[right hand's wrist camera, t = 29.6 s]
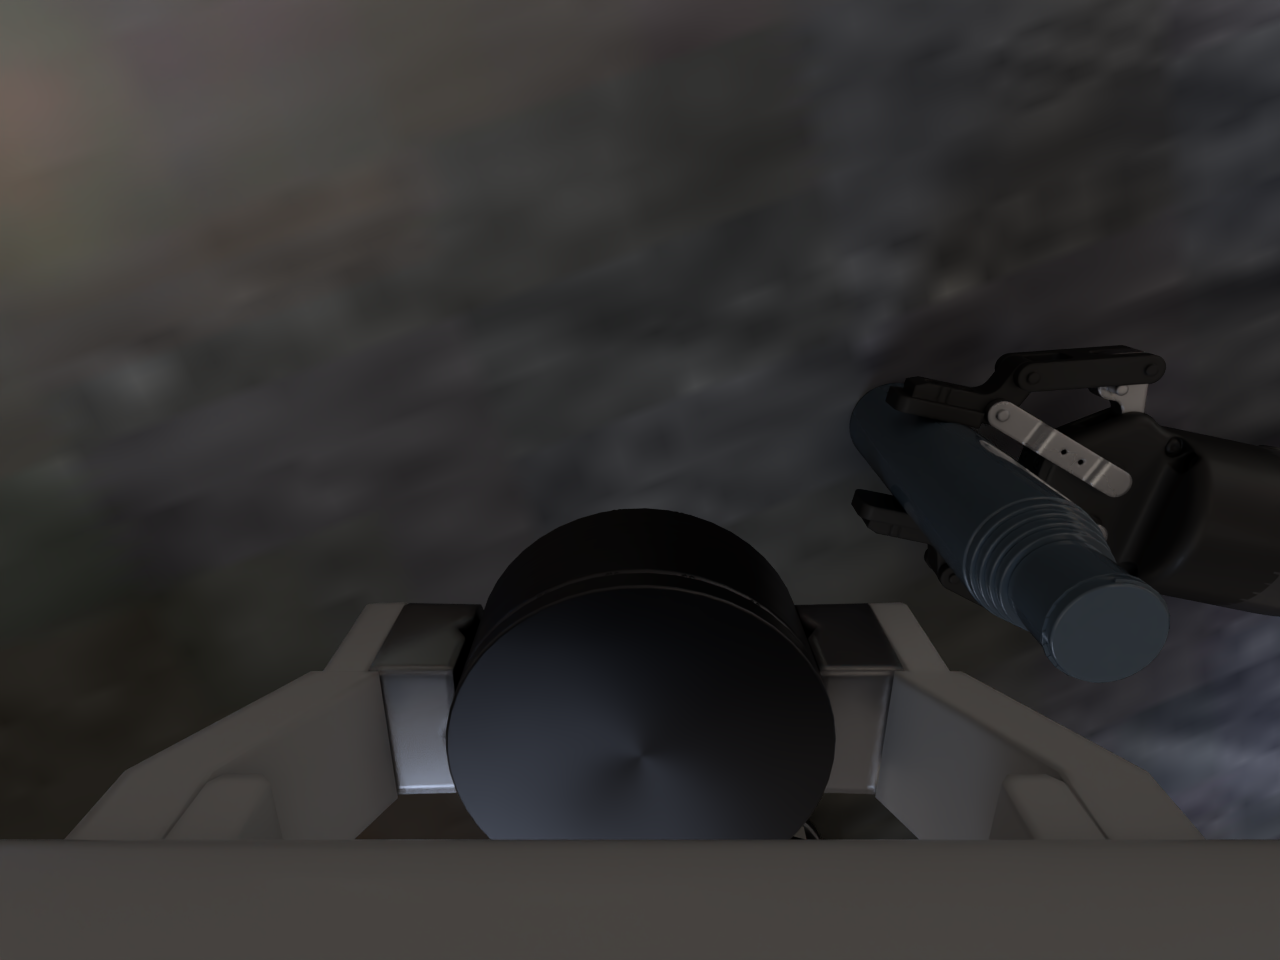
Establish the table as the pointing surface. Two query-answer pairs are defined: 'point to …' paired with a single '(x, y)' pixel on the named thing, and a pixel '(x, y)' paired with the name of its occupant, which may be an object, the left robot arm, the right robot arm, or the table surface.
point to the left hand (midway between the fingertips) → (875, 452)
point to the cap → (640, 690)
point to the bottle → (1014, 542)
